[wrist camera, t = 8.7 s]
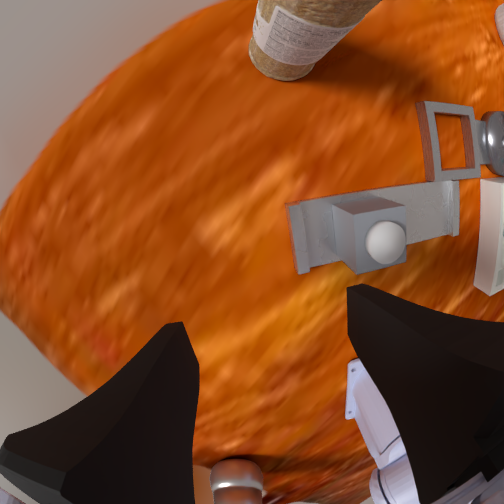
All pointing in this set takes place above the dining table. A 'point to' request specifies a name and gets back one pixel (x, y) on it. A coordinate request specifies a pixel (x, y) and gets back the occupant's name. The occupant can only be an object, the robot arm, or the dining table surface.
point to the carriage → (370, 233)
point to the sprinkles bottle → (300, 33)
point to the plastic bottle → (236, 482)
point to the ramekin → (500, 21)
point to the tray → (491, 237)
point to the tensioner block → (475, 141)
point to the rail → (320, 209)
